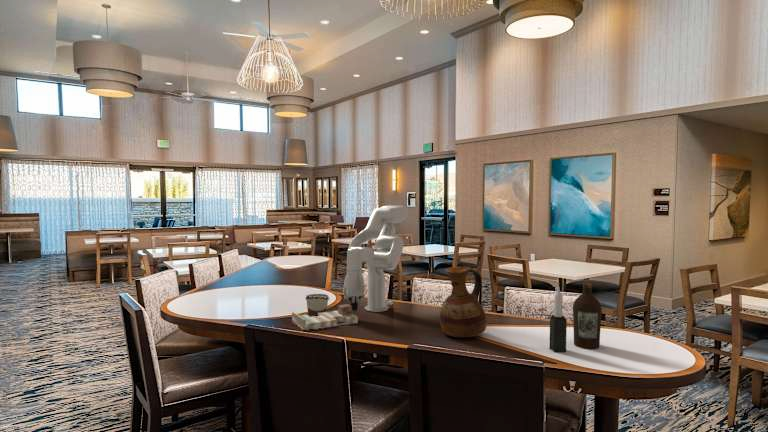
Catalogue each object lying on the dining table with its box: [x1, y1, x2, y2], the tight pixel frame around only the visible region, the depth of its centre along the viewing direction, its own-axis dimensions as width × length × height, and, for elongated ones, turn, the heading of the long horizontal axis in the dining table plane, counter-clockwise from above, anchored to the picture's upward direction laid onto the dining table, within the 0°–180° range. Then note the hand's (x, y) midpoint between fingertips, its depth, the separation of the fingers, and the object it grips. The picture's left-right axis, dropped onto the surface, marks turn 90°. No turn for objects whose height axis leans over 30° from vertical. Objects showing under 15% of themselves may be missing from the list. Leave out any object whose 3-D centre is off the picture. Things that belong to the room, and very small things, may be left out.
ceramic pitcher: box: [439, 266, 487, 338], centre depth 187 cm, size 20×20×30 cm
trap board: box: [291, 309, 359, 331], centre depth 205 cm, size 27×16×5 cm, turn 120°
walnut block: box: [337, 303, 353, 316], centre depth 210 cm, size 5×5×4 cm
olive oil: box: [572, 283, 603, 350], centre depth 173 cm, size 11×11×25 cm
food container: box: [305, 293, 330, 316], centre depth 222 cm, size 12×6×10 cm, turn 84°
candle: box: [549, 286, 568, 353], centre depth 167 cm, size 5×5×25 cm
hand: (354, 310), depth 213 cm, fingers closed
